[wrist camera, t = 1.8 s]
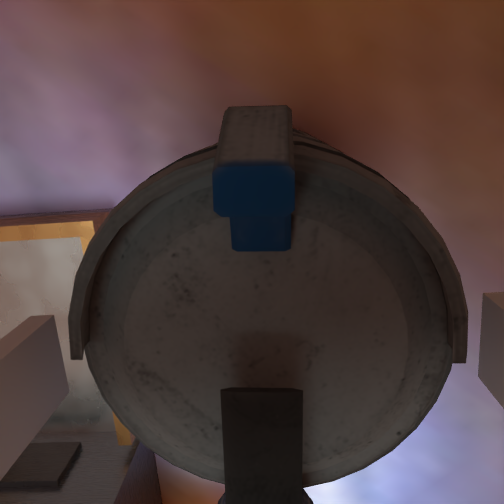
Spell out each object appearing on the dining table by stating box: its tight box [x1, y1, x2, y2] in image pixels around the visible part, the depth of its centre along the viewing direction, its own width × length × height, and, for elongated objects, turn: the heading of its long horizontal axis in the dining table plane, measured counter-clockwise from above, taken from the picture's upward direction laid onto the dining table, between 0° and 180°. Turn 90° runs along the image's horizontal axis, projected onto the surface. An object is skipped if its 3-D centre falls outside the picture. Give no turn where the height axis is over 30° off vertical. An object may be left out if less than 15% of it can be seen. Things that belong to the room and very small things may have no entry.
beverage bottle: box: [68, 105, 468, 504], centre depth 21 cm, size 10×13×25 cm
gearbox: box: [0, 209, 162, 504], centre depth 32 cm, size 28×15×12 cm, turn 4°
